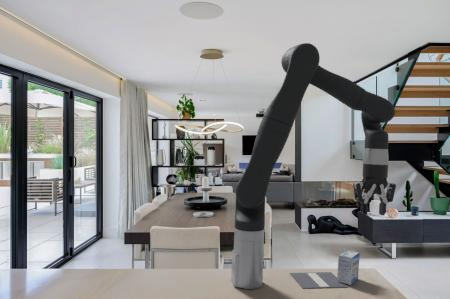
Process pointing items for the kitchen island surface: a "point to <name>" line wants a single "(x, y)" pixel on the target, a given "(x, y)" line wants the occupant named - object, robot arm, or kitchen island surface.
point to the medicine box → (348, 267)
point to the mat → (317, 280)
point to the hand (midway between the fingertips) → (373, 214)
